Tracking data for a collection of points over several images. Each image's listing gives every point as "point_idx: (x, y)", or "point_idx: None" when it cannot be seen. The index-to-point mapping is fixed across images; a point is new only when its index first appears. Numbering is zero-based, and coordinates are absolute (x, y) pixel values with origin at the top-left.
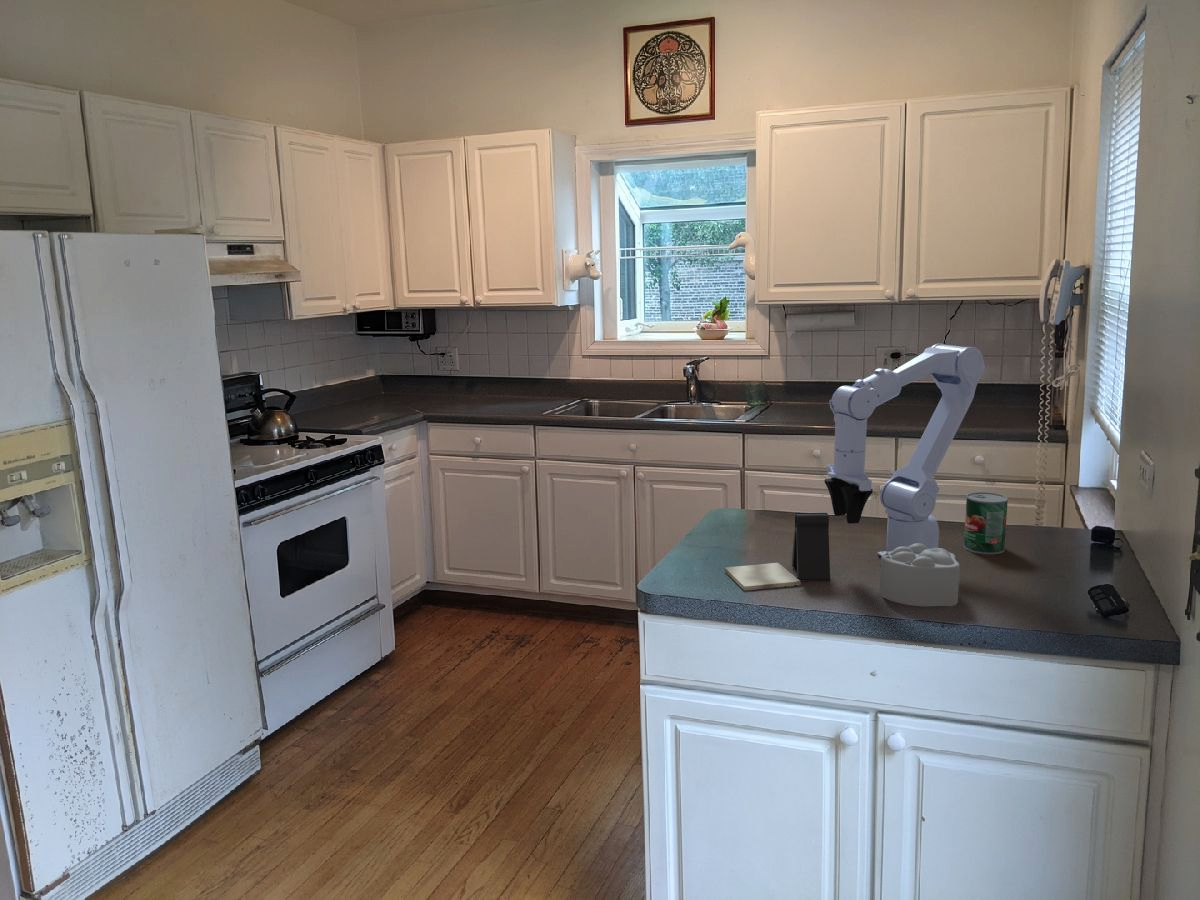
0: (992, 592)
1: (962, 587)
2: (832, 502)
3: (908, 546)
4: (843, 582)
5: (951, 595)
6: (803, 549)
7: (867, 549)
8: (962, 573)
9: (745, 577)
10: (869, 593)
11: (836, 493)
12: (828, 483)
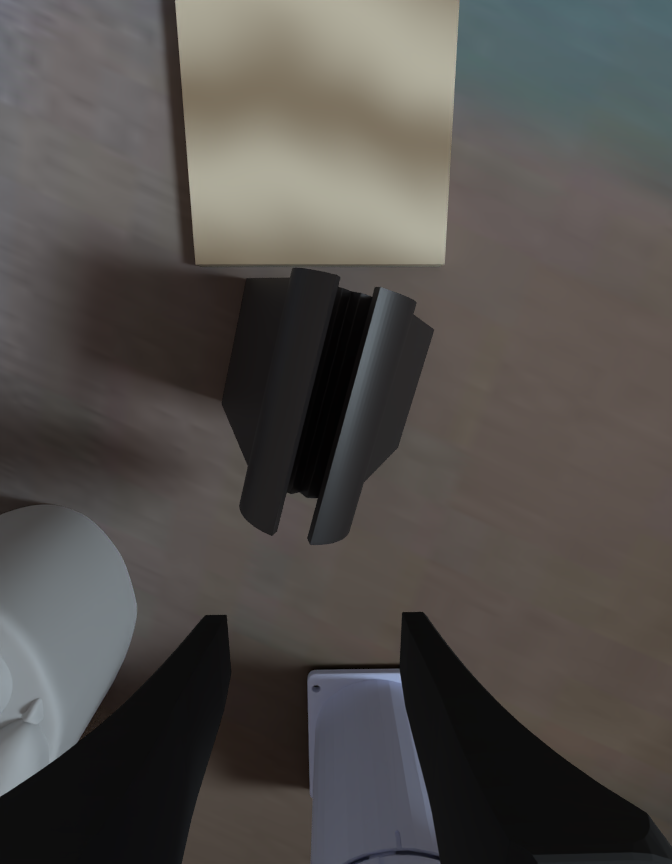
0: None
1: None
2: (451, 667)
3: (19, 745)
4: (201, 442)
5: None
6: (264, 310)
7: (508, 662)
8: (210, 800)
9: (293, 14)
10: (77, 478)
11: (453, 770)
12: (516, 831)
